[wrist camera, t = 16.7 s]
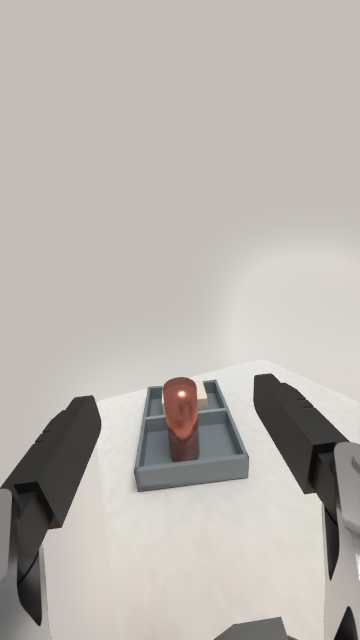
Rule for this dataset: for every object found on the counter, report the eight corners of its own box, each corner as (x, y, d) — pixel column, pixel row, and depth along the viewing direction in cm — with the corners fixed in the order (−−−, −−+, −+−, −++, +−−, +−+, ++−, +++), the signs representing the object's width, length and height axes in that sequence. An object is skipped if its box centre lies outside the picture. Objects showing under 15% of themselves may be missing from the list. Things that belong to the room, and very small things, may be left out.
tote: (216, 393, 48) (216, 379, 47) (248, 477, 29) (249, 457, 28) (150, 401, 48) (148, 387, 46) (138, 491, 29) (134, 471, 27)
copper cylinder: (197, 435, 36) (193, 375, 32) (202, 464, 31) (199, 397, 27) (169, 438, 36) (162, 379, 32) (170, 468, 30) (162, 401, 26)
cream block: (203, 397, 46) (202, 381, 45) (208, 416, 40) (207, 398, 39) (164, 402, 46) (162, 385, 44) (164, 421, 40) (161, 403, 38)
